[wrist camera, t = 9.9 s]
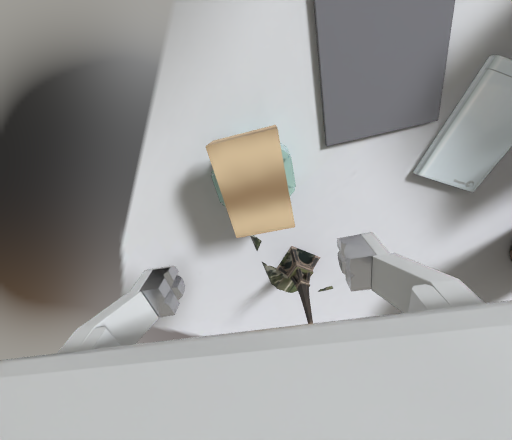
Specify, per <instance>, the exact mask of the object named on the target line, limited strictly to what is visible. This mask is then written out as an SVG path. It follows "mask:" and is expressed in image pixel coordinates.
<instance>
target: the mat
mask: <svg viewBox="0 0 512 440" xmlns="http://www.w3.org/2000/svg"><path fill="white" fill-rule="evenodd" d="M454 5H455V0H314V10H315V21H316V33H317V45H318V57H319V69H320V81H321V93H322V105H323V117H324V128H325V140H326V146H330V145H334V144H339V143H343V142H347V141H351V140H356V139H360V138H364V137H369V136H373V135H377V134H381V133H386V132H390V131H394V130H399V129H403V128H407V127H411V126H416V125H420V124H424V123H429V122H433V121H437V120H438V117H439V110H440V103H441V96H442V89H443V82H444V75H445V68H446V61H447V54H448V47H449V40H450V33H451V26H452V19H453V12H454Z"/></svg>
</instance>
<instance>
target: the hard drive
mask: <svg viewBox="0 0 512 440" xmlns="http://www.w3.org/2000/svg"><path fill="white" fill-rule="evenodd" d="M511 146H512V60H511V59H508V58H506V57H503V56H499V55H492V56H489V58H488V59H487V61H486V62H485V64H484V65H483V67H482V68H481V70H480V71H479V73H478V74H477V76H476V77H475V79H474V80H473V82H472V83H471V85H470V86H469V88H468V89H467V91H466V92H465V94H464V95H463V97H462V98H461V100H460V101H459V103H458V104H457V106H456V107H455V109H454V111H453V112H452V114H451V115H450V117H449V118H448V120H447V121H446V123H445V124H444V126H443V127H442V129H441V130H440V132H439V133H438V135H437V136H436V138H435V139H434V141H433V143H432V144H431V146H430V147H429V149H428V150H427V152H426V153H425V155H424V156H423V158H422V159H421V161H420V162H419V164H418V165H417V167H416V168H415V170H414V172H413V173H414V174H416V175H419V176H422V177H425V178H428V179H431V180H434V181H438V182H441V183H444V184H447V185H450V186H453V187H457V188H460V189H463V190H466V191H469V192H474V191H475V190H476V188H477V187H478V186H479V185H480V184H481V182H482V181H483V180H484V179H485V178H486V176H487V175H488V174H489V173H490V172H491V170H492V169H493V168H494V167H495V165H496V164H497V163H498V162H499V161H500V160H501V158H502V157H503V156H504V155H505V154H506V152H507V151H508V150H509V149H510V148H511Z"/></svg>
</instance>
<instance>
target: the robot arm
mask: <svg viewBox="0 0 512 440" xmlns="http://www.w3.org/2000/svg"><path fill="white" fill-rule="evenodd" d="M337 246H338V248H339V250H340V251H339V252H338V260H339V265H340V268H341V270H342V273H344V274H345V275H346V281H347V284H348V286H349V288H350V290H351V291H358V290H367V289H372V291H374V292H375V293H376V294H378V295H379V296H381V297H382V298H383V299H385V300H386V301H388V302H389V303H390V304H392V305H393V306H394V307H396V308H397V309H399V310H400V311H401V312H403V313H399V314H390V315H382V316H373V317H365V318H356V319H348V320H339V321H331V322H322V323H314V324H305V325H296V326H288V327H279V328H270V329H262V330H253V331H245V332H236V333H228V334H219V335H211V336H202V337H194V338H185V339H177V340H168V341H160V342H152V343H142V344H136V343H137V342H138V341H139V340H140V339H141V338H142V336H143V335H144V334H145V333H146V332H147V331H148V330H149V329H150V328H151V327H152V325H153V324H154V323H155V322H156V321H157V320H158V319H159V317H165V316H171V315H175V313H176V311H177V308H178V306H179V304H180V303H179V301H178V300H179V299H180V298H181V297H182V296H183V294H184V289H185V285H184V281H183V279H182V278H181V277H180V276H178V270H177V268H176V267H175V266H168V267H161V268H155V269H148V270H145V271H144V272H143V273H142V275H141V276H140V278H139V279H138V280H137V282H136V283H135V285H134V286H133V288H132V289H131V290H130V292H129V293H128V294H125V295H123V296H122V297H121V298H119V299H118V300H116V301H115V302H114V303H112V304H111V305H110V306H108V307H107V308H105V309H104V310H103V311H101V312H100V313H98V314H97V315H96V316H94V317H93V318H92V319H90V320H89V321H87V322H86V323H85V324H83V325H82V326H80V327H79V328H78V329H76V331H75V332H74V333H73V334H72V335H71V337H70V338H69V339H68V340H67V342H66V343H65V344H64V345H63V346H62V348H61V349H60V350H59V351H58V353H56V354H48V355H39V356H31V357H22V358H14V359H6V360H0V440H512V300H510V301H501V302H493V303H484V302H483V301H482V300H481V299H480V298H479V297H478V296H477V295H476V294H475V293H474V292H473V291H472V290H470V289H469V288H468V287H467V286H466V285H465V284H464V283H463V282H462V281H461V280H460V279H458V278H455V277H453V276H450V275H448V274H445V273H443V272H440V271H438V270H435V269H433V268H430V267H428V266H425V265H423V264H420V263H418V262H415V261H413V260H410V259H408V258H405V257H403V256H401V255H398V254H396V253H390V252H389V251H388V250H387V249H386V248H385V246H384V245H383V244H382V243H381V242H380V240H379V239H378V238H377V237H376V236H375V234H374V233H373V232H368V233H363V234H360V235H354V236H348V237H342V238H337Z"/></svg>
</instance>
